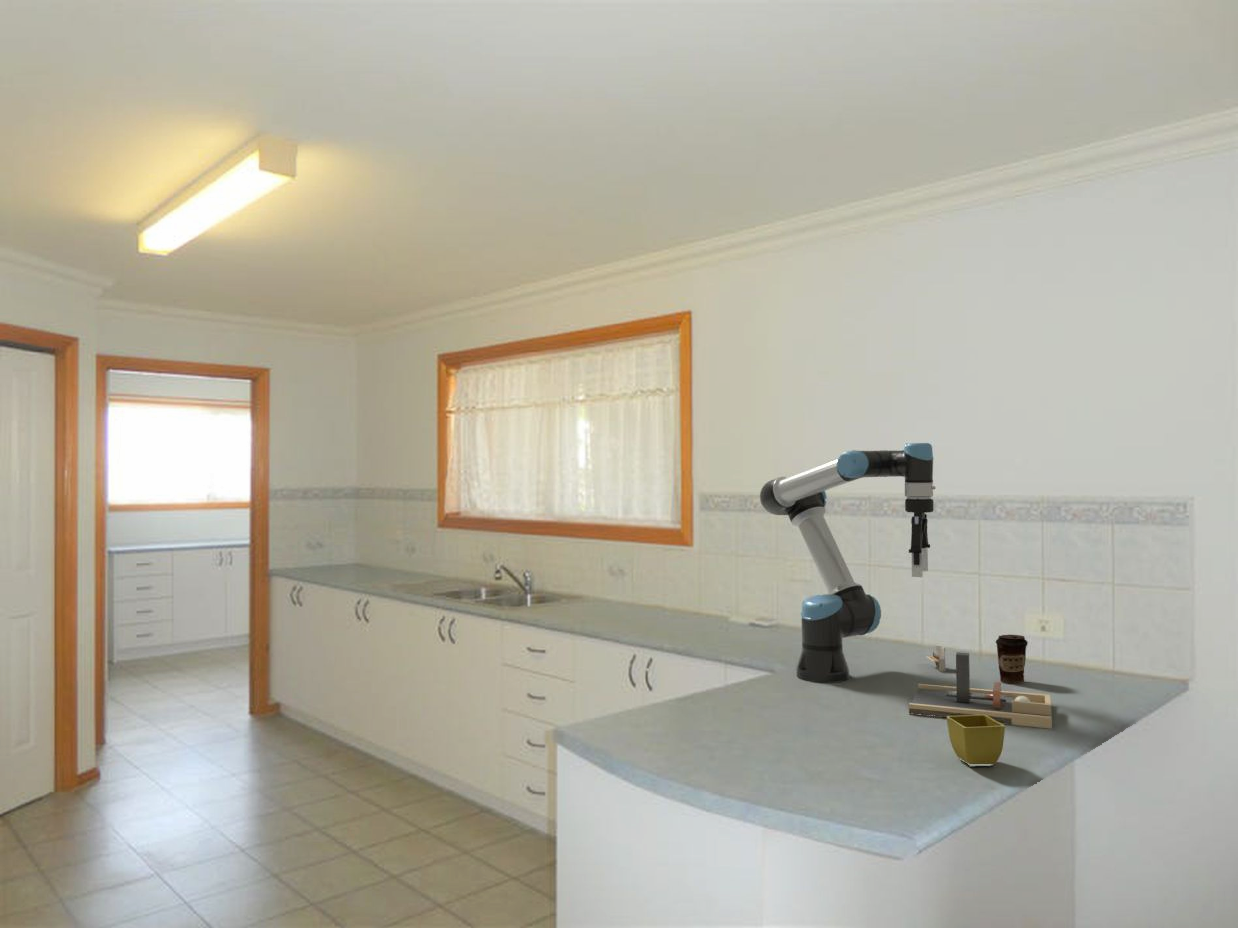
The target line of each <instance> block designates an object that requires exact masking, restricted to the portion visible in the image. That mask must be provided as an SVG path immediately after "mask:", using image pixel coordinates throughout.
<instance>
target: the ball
mask: <svg viewBox="0 0 1238 928" xmlns="http://www.w3.org/2000/svg"><path fill="white" fill-rule="evenodd" d="M1014 701H1024V702H1030V700H1029V699H1028V698H1027V697H1025V696H1018V697H1017V698H1015V700H1014Z"/></svg>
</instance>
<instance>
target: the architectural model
mask: <svg viewBox="0 0 1238 928" xmlns="http://www.w3.org/2000/svg"><path fill="white" fill-rule="evenodd" d="M934 647H935V651H936V653H935V652H934V651H932V655H926V658H927V659H929V660H930V661H931V662H934V663H935V667H936V670H937V671H938V672H946V647H944V646H942V645H941V644H939V643H937V645H934Z"/></svg>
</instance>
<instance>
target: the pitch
mask: <svg viewBox="0 0 1238 928" xmlns="http://www.w3.org/2000/svg"><path fill="white" fill-rule="evenodd" d="M917 685H918V686H917V687H918V688H917V690H916V693H915V694H914V697H913V699H912V700H911V702H910V703H908V714H909V713H913V714H921V715H920V716H922V715H933V716H934V715H935V716H939V717H938V718H942V717H947V716H963V715H986V716H988V717H990V718H992V719H993V720H995V721H997V722H999V723H1003V725H1011V724H1014V725H1013V726H1020V727H1021V726H1022V727H1023V726H1024V727H1030V728H1031V727H1032V728H1033V727H1034V728H1040V729H1041V728H1042V729H1051V730H1052V729H1053V727H1052V726H1053V725H1052V724H1053V723H1052V722H1053V720H1052V704H1051V703H1052V702H1051V701H1052V700H1051V694H1046V693H1045V694H1044V693H1043V694H1042V693H1036V692H1035V693H1032V692H1022V691H1021V692H1019V691H1007V690H1001V695H1006V702H1001V708H1000V709H997V708H993V701H989V700H979V699H970V702H969V703H966V702H957V697H947V696H946V690H950V691H956V686H948V685H939V684H937V685H935V684H926V683H925V684H924V683H918V684H917ZM970 692H973V693H984V694H993V689H984V688H975V687H974V688H971V687H970ZM1018 696H1025V697H1027V698H1028V699H1029V700H1030V702H1024V701H1014V700H1015V698H1017V697H1018ZM940 716H941V717H940Z"/></svg>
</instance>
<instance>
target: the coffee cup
mask: <svg viewBox="0 0 1238 928" xmlns="http://www.w3.org/2000/svg"><path fill="white" fill-rule="evenodd" d="M1028 643H1029V642H1028V641H1027V640H1026V639H1025V636H1024V635H1022V634H1021V635H1019V634H1002V635H998V638H997V639H996V640H995V644H996V648H997V649H996V651H997V660H998V661H997V663H998V670H999V671H998V672H999V676H1000V677H999V679H1000V680H999V681H1000V683H1005V684H1016V685H1017V684H1024V683H1026V682H1025V675H1024V673H1025V665H1026V660H1027V659H1026V657H1027V656H1026V653H1027V646H1028Z"/></svg>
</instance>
